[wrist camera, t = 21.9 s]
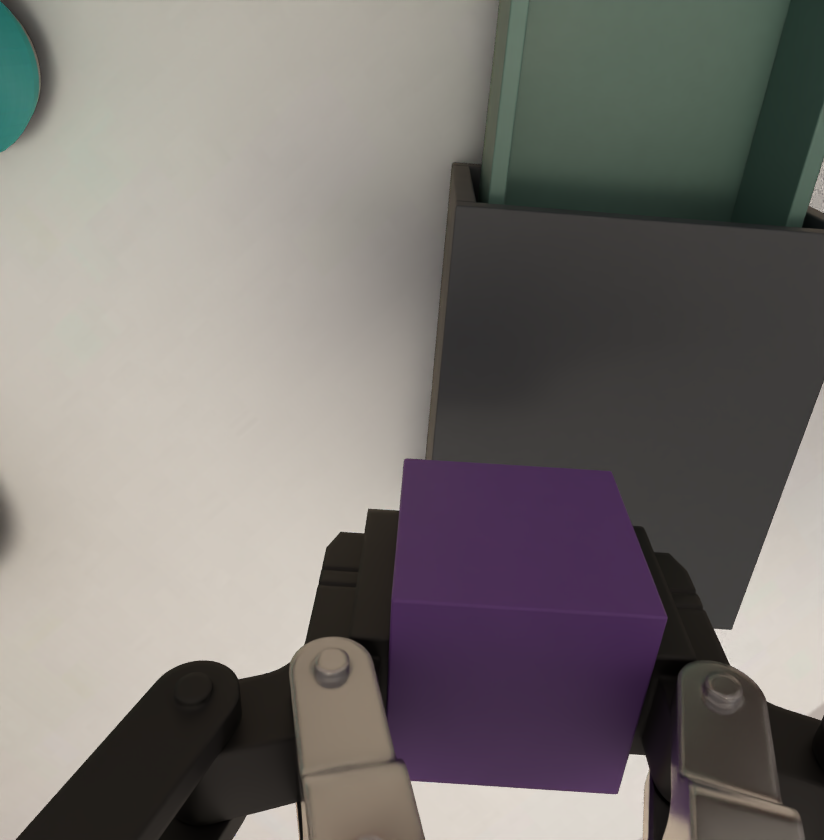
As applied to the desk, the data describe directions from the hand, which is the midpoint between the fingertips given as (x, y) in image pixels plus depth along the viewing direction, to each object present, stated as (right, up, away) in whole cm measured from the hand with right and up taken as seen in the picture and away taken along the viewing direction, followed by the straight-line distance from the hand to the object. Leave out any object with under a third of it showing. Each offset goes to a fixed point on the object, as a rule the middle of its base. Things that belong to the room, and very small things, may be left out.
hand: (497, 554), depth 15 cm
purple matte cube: (0, 0, 0) cm, 0 cm away
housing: (+5, +5, +14) cm, 16 cm away
